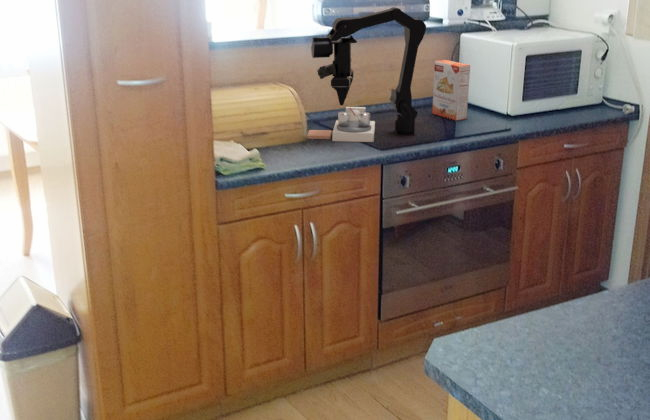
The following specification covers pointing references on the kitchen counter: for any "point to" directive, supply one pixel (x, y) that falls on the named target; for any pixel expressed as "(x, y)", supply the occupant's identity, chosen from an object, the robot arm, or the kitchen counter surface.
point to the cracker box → (451, 89)
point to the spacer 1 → (343, 119)
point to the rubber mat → (319, 134)
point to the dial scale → (354, 128)
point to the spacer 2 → (364, 119)
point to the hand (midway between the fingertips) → (342, 102)
